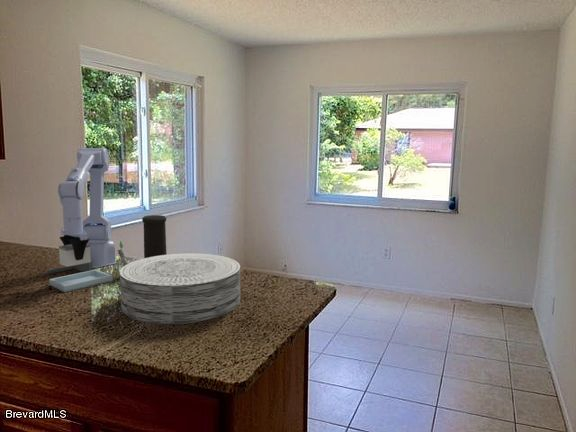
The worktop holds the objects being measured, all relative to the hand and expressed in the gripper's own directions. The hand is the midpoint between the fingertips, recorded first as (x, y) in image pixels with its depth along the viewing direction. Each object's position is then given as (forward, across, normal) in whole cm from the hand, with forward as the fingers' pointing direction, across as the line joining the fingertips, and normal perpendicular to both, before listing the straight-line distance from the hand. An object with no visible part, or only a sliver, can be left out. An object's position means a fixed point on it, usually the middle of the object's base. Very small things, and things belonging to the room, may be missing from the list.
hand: (75, 258), depth 155 cm
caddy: (+2, 0, 0) cm, 2 cm away
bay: (+8, -12, +3) cm, 15 cm away
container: (+9, +4, +28) cm, 29 cm away
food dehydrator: (+9, +39, +12) cm, 42 cm away
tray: (+8, +2, +1) cm, 9 cm away
